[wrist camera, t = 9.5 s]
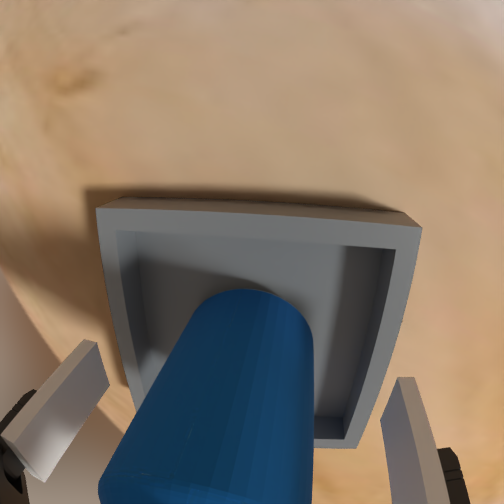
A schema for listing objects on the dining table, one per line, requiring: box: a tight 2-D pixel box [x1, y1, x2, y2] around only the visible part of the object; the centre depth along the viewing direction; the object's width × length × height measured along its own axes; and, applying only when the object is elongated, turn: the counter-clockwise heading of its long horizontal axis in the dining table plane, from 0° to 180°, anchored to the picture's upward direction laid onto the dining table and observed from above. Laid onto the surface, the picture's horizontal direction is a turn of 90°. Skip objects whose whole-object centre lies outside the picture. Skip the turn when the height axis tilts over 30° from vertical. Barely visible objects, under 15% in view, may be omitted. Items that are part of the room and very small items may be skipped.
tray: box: [96, 197, 422, 449], centre depth 16 cm, size 14×14×2 cm
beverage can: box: [98, 289, 314, 504], centre depth 11 cm, size 6×6×12 cm
